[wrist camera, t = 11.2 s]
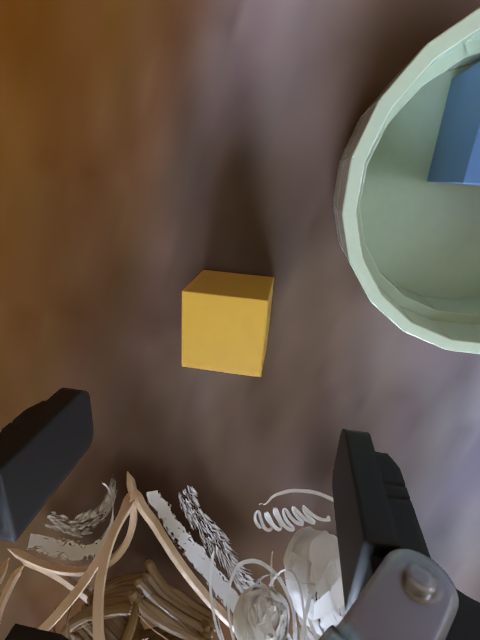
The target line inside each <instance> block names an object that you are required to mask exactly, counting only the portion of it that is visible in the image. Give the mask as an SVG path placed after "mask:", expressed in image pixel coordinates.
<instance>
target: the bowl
mask: <svg viewBox="0 0 480 640" xmlns="http://www.w3.org/2000/svg"><path fill="white" fill-rule="evenodd" d="M479 61H480V7H479V8H477V9H476V10H475V11H473V12H472V13H470V14H469V15H467V16H466V17H464V18H463V19H462V20H460V21H459V22H457V23H456V24H454V25H453V26H451V27H450V28H449V29H447V30H446V31H444V32H443V33H441V34H440V35H438V36H437V37H436V38H434V39H433V40H431V41H430V42H428V43H427V44H426V45H425V46H424V47H423V48H422V49H421V50H420V51H419V52H418V53H417V54H416V55H415V56H414V57H413V58H412V59H411V60H410V61H409V63H408V64H407V65H406V66H405V67H404V68H403V69H402V70H401V71H400V72H399V73H398V74H397V75H396V76H395V77H394V78H393V79H392V80H391V82H390V83H389V84H388V85H387V86H386V87H385V89H384V90H383V91H382V92H381V93H380V95H379V96H378V97H377V98H376V99H375V100H374V102H373V103H372V104H371V105H370V106H369V107H368V109H367V110H366V111H365V112H364V113H363V114H362V116H361V117H360V119H359V120H358V123H357V125H356V127H355V129H354V131H353V133H352V135H351V137H350V140H349V142H348V144H347V146H346V148H345V150H344V152H343V155H342V157H341V159H340V162H339V166H338V172H337V179H336V185H335V192H334V198H333V211H334V217H335V224H336V230H337V237H338V242H339V245H340V247H341V249H342V251H343V253H344V254H345V256H346V258H347V260H348V262H349V264H350V266H351V268H352V269H353V271H354V273H355V275H356V277H357V279H358V280H359V282H360V284H361V286H362V288H363V290H364V291H365V293H366V295H367V297H368V299H369V300H370V301H371V303H372V304H373V305H374V306H375V307H376V308H378V309H379V310H380V311H381V312H382V313H383V314H384V315H385V316H386V317H388V318H389V319H390V320H391V321H392V322H393V323H394V324H395V325H396V326H398V327H399V328H400V329H401V330H402V331H404V332H405V333H408V334H410V335H412V336H414V337H417V338H419V339H421V340H424V341H426V342H428V343H431V344H433V345H435V346H437V347H440V348H442V349H445V350H450V351H458V352H466V353H475V354H480V185H468V184H453V183H438V182H427V178H428V174H429V170H430V166H431V162H432V158H433V154H434V150H435V146H436V142H437V137H438V133H439V129H440V125H441V121H442V117H443V113H444V109H445V105H446V101H447V96H448V92H449V88H450V84H451V80H452V79H453V78H454V77H456V76H457V75H459V74H461V73H462V72H464V71H465V70H467V69H468V68H470V67H472V66H473V65H475V64H476V63H478V62H479Z"/></svg>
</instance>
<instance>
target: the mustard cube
mask: <svg viewBox="0 0 480 640" xmlns="http://www.w3.org/2000/svg"><path fill="white" fill-rule="evenodd" d="M273 286H274V277H268V276H258V275H249V274H239V273H229V272H220V271H210V270H203V271H202V272H201V273H200V274H199V275H198V276H197V277H196V278H195V279H194V280H192V281H191V282H190V283H189V284H188V285H187V286H186V287H185V288H184V289H183V290H182V366H183V367H190V368H198V369H205V370H212V371H219V372H227V373H234V374H241V375H248V376H256V377H261V373H262V368H263V363H264V358H265V353H266V348H267V343H268V334H269V324H270V315H271V305H272V295H273Z"/></svg>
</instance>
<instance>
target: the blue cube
mask: <svg viewBox="0 0 480 640" xmlns="http://www.w3.org/2000/svg"><path fill="white" fill-rule="evenodd" d="M427 182H438V183H453V184H468V185H480V61H479V62H478V63H476V64H475V65H473V66H472V67H470V68H468V69H467V70H465V71H464V72H462V73H461V74H459V75H457V76H456V77H454V78H453V79H452V80H451V84H450V88H449V92H448V96H447V101H446V105H445V109H444V113H443V117H442V121H441V125H440V129H439V133H438V137H437V142H436V146H435V150H434V154H433V158H432V162H431V166H430V170H429V174H428V178H427Z"/></svg>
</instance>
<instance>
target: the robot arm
mask: <svg viewBox="0 0 480 640" xmlns="http://www.w3.org/2000/svg"><path fill="white" fill-rule="evenodd" d="M92 438H93V421H92V412H91V403H90V396H89V393H88V392H87V391H83V390H76V389H70V388H61V389H60V390H58V391H57V392H56V393H55V394H54V395H53V396H51V397H50V398H49V399H48V400H47V401H42V402H40V403H38V404H36V405H34V406H32V407H30V408H28V409H26V410H25V411H24V412H22V413H21V414H20V415H19V416H18V417H16V418H15V419H14V420H13V422H12V423H9V424H8V425H7V426H6V427H4V428H3V429H2V431H1V433H0V540H5V541H10V542H15V541H16V540H17V539H18V538H19V536H20V535H21V534H22V533H23V531H24V530H25V529H26V527H27V526H28V525H29V524H30V522H31V521H32V520H33V519H34V517H35V516H36V515H37V513H38V512H39V511H40V510H41V508H42V507H43V506H44V505H45V503H46V502H47V501H48V499H49V498H50V497H51V496H52V494H53V493H54V492H55V491H56V489H57V488H58V487H59V485H60V484H61V483H62V482H63V480H64V479H65V478H66V477H67V475H68V474H69V473H70V471H71V470H72V469H73V468H74V466H75V465H76V464H77V463H78V461H79V460H80V459H81V457H82V456H83V455H84V454H85V452H86V451H87V450H88V448H89V446H90V444H91V442H92ZM332 491H333V501H334V510H335V520H336V529H337V539H338V548H339V558H340V567H341V576H342V586H343V595H344V605H345V612H347V613H346V615H345V616H344V617H343V619H342V620H341V622H340V623H339V624H338V625H337V626H336V627H335V626H334V625H331V626H330V627H328V628H327V630H326V631H325V632H324V633H323V634H322V636H321V637H320V638H319V640H480V603H479V602H477V601H475V600H473V599H471V598H469V597H468V596H466V595H464V594H463V593H461V592H460V591H459V590H457V589H456V588H455V586H454V584H453V582H452V580H451V579H450V577H449V576H448V574H447V573H446V572H445V571H444V570H443V569H442V568H441V567H440V566H439V565H438V564H437V563H436V562H435V561H433V560H432V559H431V557H430V554H429V552H428V549H427V546H426V543H425V540H424V537H423V534H422V531H421V529H420V526H419V523H418V520H417V517H416V514H415V511H414V508H413V505H412V503H411V501H410V497H409V494H408V491H407V488H406V487H405V482H404V480H403V477H402V474H401V471H400V468H399V467H398V466H397V465H396V463H395V462H394V461H393V460H392V459H391V457H390V456H389V455H388V454H386V453H380V452H375V451H374V447H373V444H372V440H371V436H370V434H369V433H368V432H361V431H354V430H347V429H342V431H341V435H340V439H339V444H338V449H337V454H336V459H335V464H334V469H333V479H332ZM5 640H69V639H68V638H66V637H65V636H63V635H62V634H57V633H53V632H49V631H45V630H40V629H36V628H32V627H28V626H23V625H19V624H15V625H14V626H13V628H12V629H11V631H10V633H9V634H8V636H7V637H6V639H5Z"/></svg>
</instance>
